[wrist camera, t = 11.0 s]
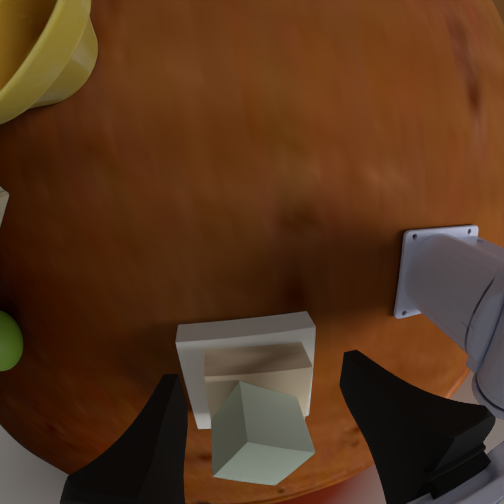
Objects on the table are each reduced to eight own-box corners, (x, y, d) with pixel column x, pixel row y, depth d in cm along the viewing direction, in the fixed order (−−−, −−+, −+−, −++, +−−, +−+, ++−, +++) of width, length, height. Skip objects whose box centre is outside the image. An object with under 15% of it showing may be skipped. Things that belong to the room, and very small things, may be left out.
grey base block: (304, 307, 24) (315, 326, 21) (300, 394, 27) (308, 415, 24) (179, 320, 23) (175, 342, 20) (198, 406, 26) (198, 429, 23)
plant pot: (148, 72, 16) (99, 14, 7) (34, 158, 17) (-58, 172, 8) (98, -18, 13) (49, -83, 4) (-3, 63, 14) (-80, 43, 4)
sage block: (297, 397, 19) (315, 452, 15) (264, 433, 20) (275, 485, 16) (239, 380, 18) (247, 441, 13) (210, 420, 19) (212, 476, 14)
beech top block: (301, 341, 21) (313, 366, 19) (294, 405, 24) (302, 430, 21) (204, 349, 21) (204, 376, 18) (212, 413, 23) (213, 439, 20)
